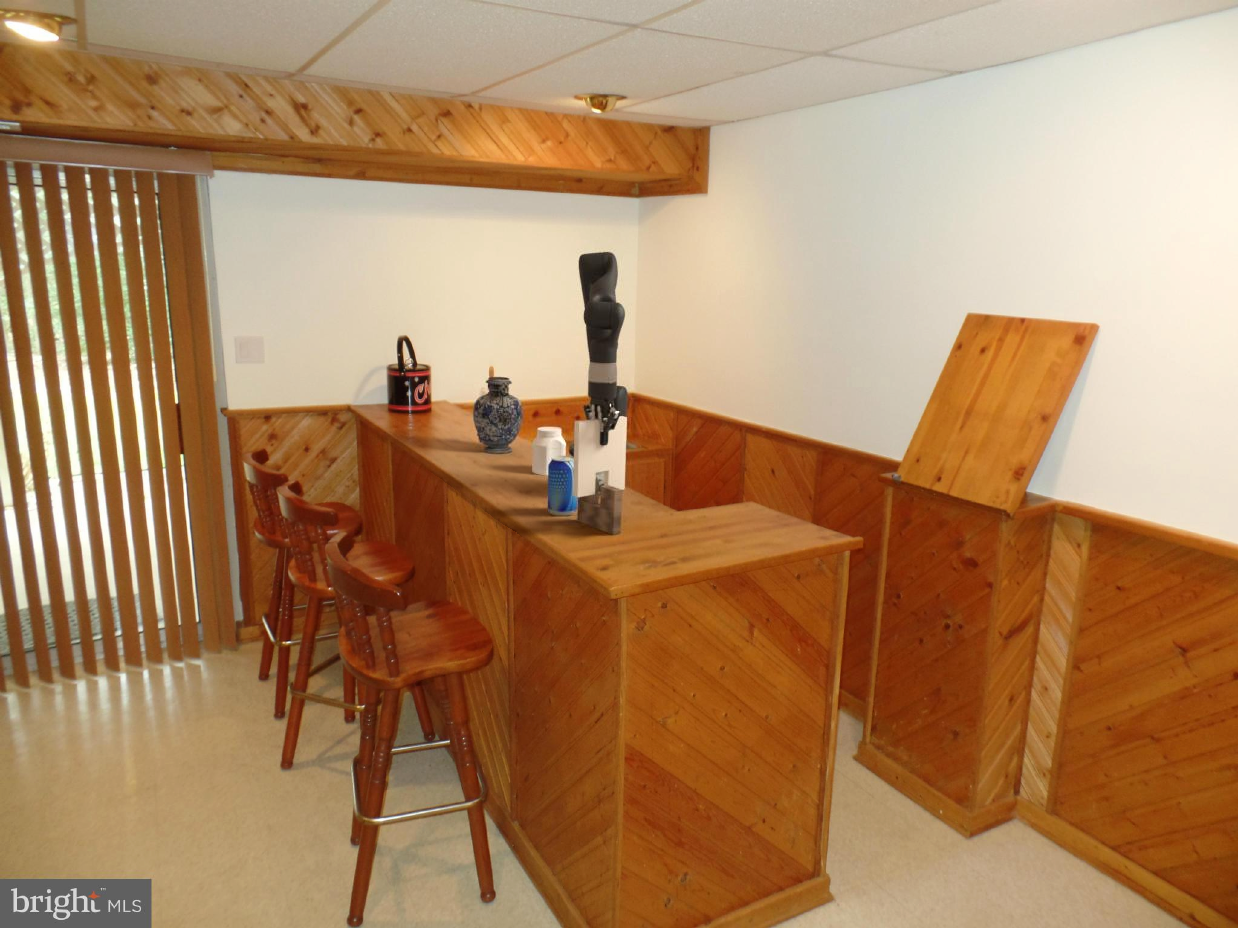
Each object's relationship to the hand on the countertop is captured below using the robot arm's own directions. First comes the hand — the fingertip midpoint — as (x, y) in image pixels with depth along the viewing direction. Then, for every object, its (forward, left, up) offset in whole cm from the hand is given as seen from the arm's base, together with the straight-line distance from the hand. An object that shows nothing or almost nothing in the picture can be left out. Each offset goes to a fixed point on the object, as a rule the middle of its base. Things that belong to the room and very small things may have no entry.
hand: (600, 444), depth 226 cm
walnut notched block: (0, 0, -23) cm, 23 cm away
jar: (-61, -25, -23) cm, 70 cm away
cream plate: (0, 0, -13) cm, 13 cm away
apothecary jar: (-33, -8, -23) cm, 41 cm away
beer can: (-12, -12, -23) cm, 29 cm away
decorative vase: (-90, -50, -23) cm, 105 cm away
